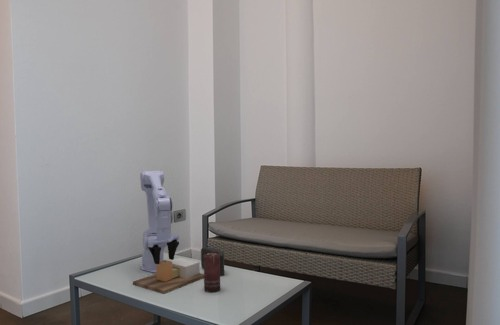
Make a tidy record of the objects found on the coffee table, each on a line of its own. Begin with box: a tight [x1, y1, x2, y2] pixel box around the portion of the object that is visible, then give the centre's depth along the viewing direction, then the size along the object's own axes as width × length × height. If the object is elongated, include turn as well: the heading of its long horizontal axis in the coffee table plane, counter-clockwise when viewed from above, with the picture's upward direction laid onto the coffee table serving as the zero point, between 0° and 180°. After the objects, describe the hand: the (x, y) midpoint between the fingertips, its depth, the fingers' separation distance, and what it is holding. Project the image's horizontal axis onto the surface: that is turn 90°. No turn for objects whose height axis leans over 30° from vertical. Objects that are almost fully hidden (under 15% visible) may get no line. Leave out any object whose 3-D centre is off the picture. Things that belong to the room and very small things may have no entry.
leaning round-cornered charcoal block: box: [200, 246, 225, 276], centre depth 178 cm, size 16×5×9 cm, turn 39°
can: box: [203, 252, 221, 293], centre depth 155 cm, size 6×6×14 cm
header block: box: [170, 257, 201, 279], centre depth 171 cm, size 12×8×5 cm, turn 54°
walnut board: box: [132, 272, 204, 294], centre depth 165 cm, size 18×23×1 cm
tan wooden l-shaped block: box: [155, 259, 180, 282], centre depth 167 cm, size 5×14×7 cm, turn 144°
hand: (164, 261), depth 163 cm, fingers open, 7 cm apart
